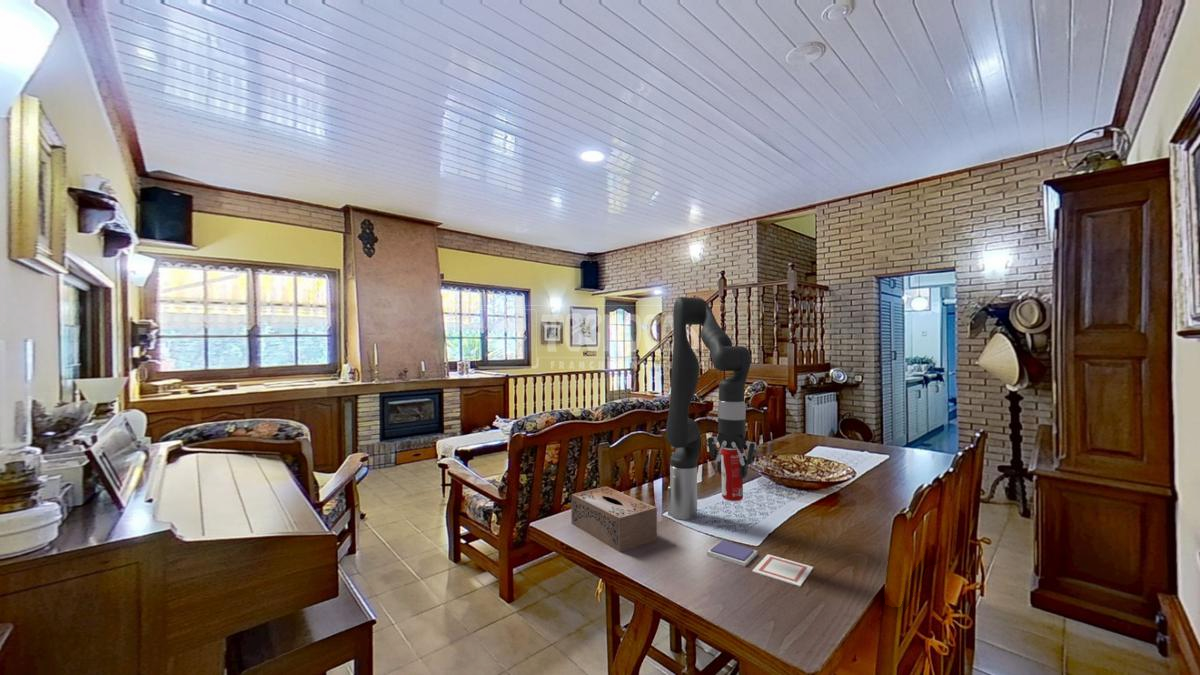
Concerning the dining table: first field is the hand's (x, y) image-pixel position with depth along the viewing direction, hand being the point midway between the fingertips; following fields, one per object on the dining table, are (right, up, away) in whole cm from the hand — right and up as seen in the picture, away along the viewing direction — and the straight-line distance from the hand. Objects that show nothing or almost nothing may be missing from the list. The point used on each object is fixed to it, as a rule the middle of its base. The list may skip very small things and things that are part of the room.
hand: (732, 475), depth 131 cm
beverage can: (0, -7, 0) cm, 7 cm away
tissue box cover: (-34, -23, +16) cm, 44 cm away
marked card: (+11, -22, -9) cm, 26 cm away
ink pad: (0, -22, 0) cm, 22 cm away
